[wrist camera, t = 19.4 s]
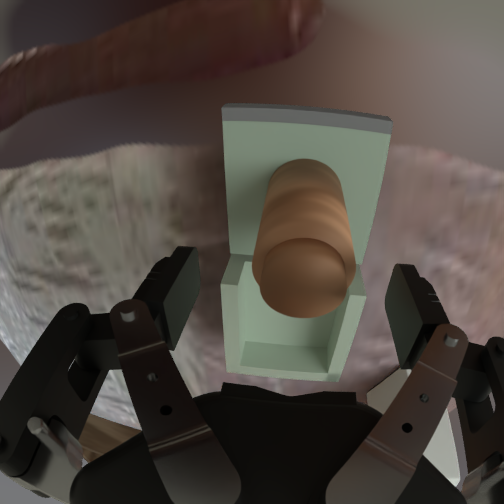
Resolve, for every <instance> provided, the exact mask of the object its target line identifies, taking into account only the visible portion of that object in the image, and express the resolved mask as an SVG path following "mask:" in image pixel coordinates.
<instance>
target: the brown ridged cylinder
mask: <svg viewBox="0 0 504 504" xmlns="http://www.w3.org/2000/svg"><path fill="white" fill-rule="evenodd" d="M252 273H253V276H254V278H255V281H256V282H257V284H258V285H259V286H260V293H261V296H262V298H263V300H264V301H265V303H266V304H267V305H268V306H269V307H271V308H272V309H273V310H275V311H277V312H278V313H281V314H283V315H286V316H289V317H294V318H314V317H318V316H322V315H325V314H327V313H329V312H331V311H333V310H334V309H336V308H337V307H338V306H339V305H340V304H341V303H342V302H343V300H344V298H345V296H346V293H347V288H348V287H349V286H350V285H351V283H352V281H353V279H354V276H355V273H356V261H355V255H354V249H353V243H352V237H351V231H350V226H349V221H348V216H347V210H346V205H345V201H344V196H343V191H342V187H341V183H340V180H339V178H338V176H337V175H336V173H335V172H334V171H333V170H332V169H331V168H330V167H329V166H327V165H326V164H324V163H322V162H320V161H317V160H313V159H296V160H292V161H289V162H287V163H285V164H283V165H282V166H280V167H279V168H278V169H277V170H276V171H275V172H274V173H273V175H272V176H271V178H270V181H269V184H268V189H267V193H266V198H265V203H264V207H263V212H262V217H261V222H260V226H259V231H258V236H257V240H256V245H255V250H254V254H253V259H252Z"/></svg>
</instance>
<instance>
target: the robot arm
mask: <svg viewBox="0 0 504 504" xmlns="http://www.w3.org/2000/svg"><path fill="white" fill-rule="evenodd" d="M199 290H200V271H199V261H198V251H197V248H196V247H184V246H178V247H177V248H176V249H175V251H174V252H173V254H172V255H171V257H164V258H163V259H161V260H160V261H158V262H157V263H156V264H155V265H154V267H153V268H152V269H151V271H150V272H149V274H148V275H147V277H146V279H145V280H144V281H143V283H142V284H141V286H140V287H139V289H138V290H137V291H136V293H135V294H134V296H133V298H132V299H127V300H124V301H121V302H119V303H117V304H116V305H115V306H114V307H113V308H112V309H111V311H110V313H103V314H90V311H89V309H88V307H87V306H86V305H84V304H82V303H72V304H69V305H67V306H65V307H63V308H62V309H60V310H59V311H58V313H57V314H56V315H55V317H54V318H53V320H52V321H51V322H50V324H49V325H48V327H47V328H46V329H45V331H44V332H43V334H42V335H41V337H40V338H39V340H38V341H37V343H36V344H35V346H34V347H33V349H32V350H31V352H30V353H29V355H28V356H27V358H26V359H25V361H24V362H23V364H22V365H21V367H20V369H19V370H18V372H17V373H16V375H15V377H14V378H13V380H12V382H11V383H10V385H9V387H8V389H7V390H6V392H5V394H4V395H3V397H2V399H1V400H0V470H1V472H2V473H4V474H5V475H6V476H7V477H9V478H10V479H12V480H13V481H15V482H16V483H18V484H19V485H21V486H22V487H24V488H26V489H28V490H30V491H32V492H34V493H35V494H37V495H39V496H41V497H45V498H49V497H52V498H54V499H56V500H58V501H61V502H63V503H65V504H504V339H503V338H501V337H492V338H490V339H489V340H488V342H487V343H486V345H485V346H482V345H479V344H475V343H471V342H469V341H468V337H467V335H466V334H465V332H464V331H463V330H462V329H460V328H459V327H457V326H455V325H452V324H450V322H449V320H448V318H447V315H446V313H445V311H444V309H443V307H442V305H441V303H439V299H438V297H437V296H436V292H435V290H434V288H433V286H432V285H431V284H430V283H429V282H428V281H427V280H426V279H425V278H423V277H420V276H419V274H418V272H417V270H416V268H415V266H414V265H410V264H396V265H395V266H394V269H393V272H392V276H391V279H390V282H389V286H388V289H387V292H386V296H385V310H386V313H387V317H388V321H389V324H390V328H391V332H392V336H393V340H394V343H395V347H396V352H397V356H398V360H399V364H400V368H401V370H406V369H411V373H410V375H409V376H408V378H407V380H406V381H405V383H404V384H403V386H402V388H401V389H400V391H399V392H398V394H397V395H396V397H395V398H394V400H393V401H392V403H391V404H390V406H389V407H388V409H387V410H386V412H385V413H384V415H383V414H382V413H381V412H379V411H378V410H376V409H374V408H372V407H370V406H368V405H366V404H363V403H360V402H356V392H327V391H323V392H318V393H312V394H305V395H299V396H285V395H282V394H279V393H275V392H272V391H269V390H266V389H263V388H260V387H257V386H249V385H241V384H233V383H225V382H223V385H222V389H221V391H219V392H212V393H207V394H203V395H200V396H197V397H195V398H192V396H191V394H190V392H189V390H188V388H187V386H186V384H185V382H184V380H183V378H182V376H181V374H180V372H179V370H178V368H177V366H176V364H175V362H174V360H173V358H172V356H171V353H170V351H169V350H172V351H174V350H175V347H176V345H177V343H178V340H179V338H180V336H181V333H182V331H183V328H184V326H185V324H186V321H187V319H188V317H189V314H190V312H191V310H192V308H193V305H194V303H195V301H196V298H197V296H198V294H199ZM74 359H75V360H74ZM73 360H74V362H73ZM72 362H73V363H72ZM71 364H72V365H71ZM70 365H71V367H70ZM69 367H70V369H69ZM68 369H69V371H68ZM116 369H122V372H123V376H124V379H125V382H126V385H127V388H128V391H129V395H130V398H131V401H132V403H133V406H134V409H135V412H136V415H137V418H138V420H139V423H140V426H141V428H142V431H141V432H140V433H138V434H136V435H135V436H133V437H132V438H130V439H128V440H127V441H125V442H123V443H122V444H120V445H118V446H117V447H115V448H113V449H112V450H110V451H108V452H107V453H105V454H103V455H102V456H100V457H98V458H96V459H95V460H93V461H91V462H90V463H88V464H87V465H85V466H84V467H83V468H82V459H83V449H82V446H81V444H80V443H79V441H78V440H79V438H80V435H81V433H82V431H83V428H84V426H85V423H86V421H87V419H88V416H89V414H90V412H91V409H92V407H93V405H94V402H95V400H96V398H97V396H98V393H99V391H100V389H101V387H102V385H103V382H104V380H105V378H106V376H107V374H108V371H109V370H116ZM490 392H492V393H493V397H494V400H495V405H496V406H495V412H493V408H492V405H491V401H490V398H489V394H490ZM451 397H454V398H455V400H456V405H457V409H458V414H459V419H460V424H461V429H462V435H463V441H464V447H465V454H466V461H467V468H468V475H467V476H466V478H465V480H464V482H463V485H462V490H461V492H460V491H459V490H458V489H457V488H456V487H455V486H454V485H453V484H452V483H451V482H450V481H449V480H448V479H447V478H446V477H445V476H444V475H443V474H442V473H441V472H440V471H439V470H438V469H437V468H436V467H435V466H434V465H433V464H432V463H431V462H430V461H429V460H428V459H427V458H426V457H425V456H424V455H423V453H424V451H425V449H426V448H427V446H428V444H429V442H430V440H431V438H432V436H433V435H434V433H435V431H436V429H437V427H438V425H439V423H440V421H441V419H442V417H443V414H444V412H445V410H446V408H447V406H448V404H449V401H450V399H451Z"/></svg>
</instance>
